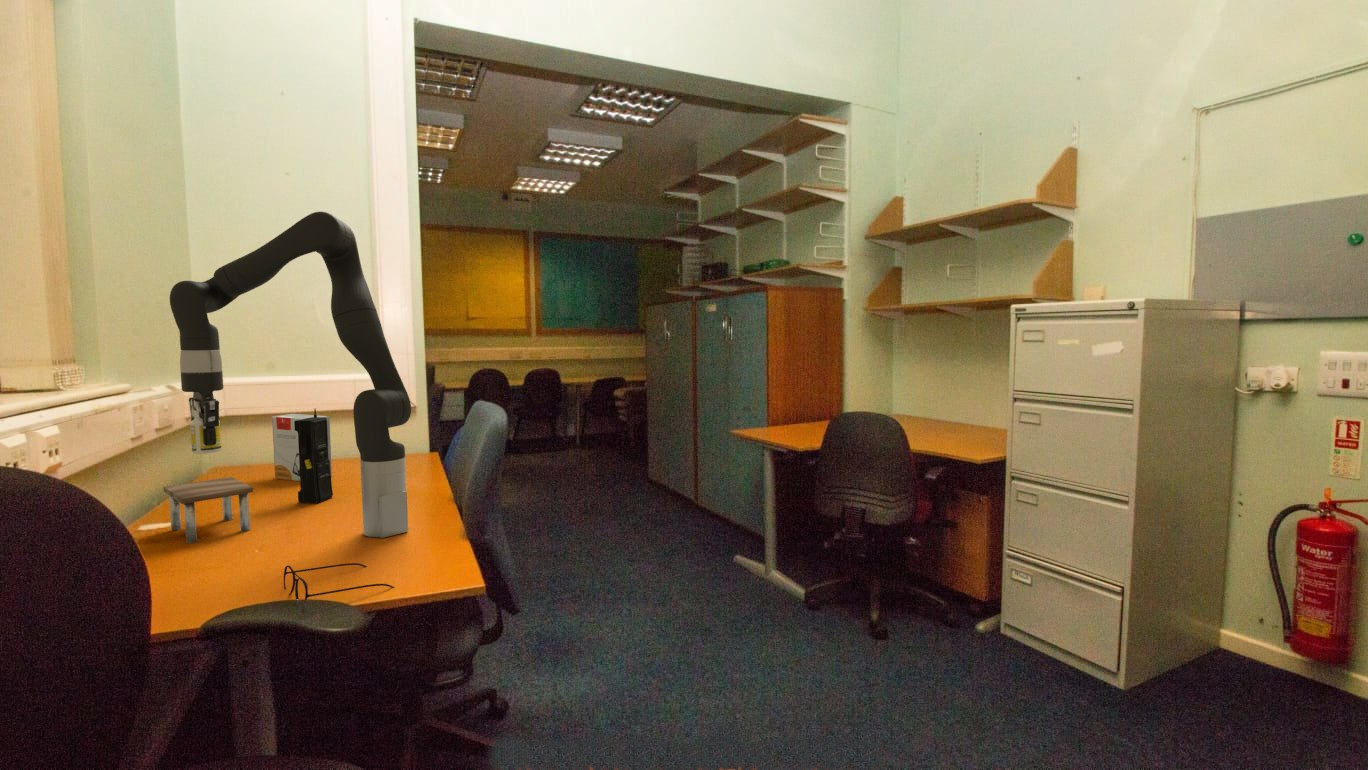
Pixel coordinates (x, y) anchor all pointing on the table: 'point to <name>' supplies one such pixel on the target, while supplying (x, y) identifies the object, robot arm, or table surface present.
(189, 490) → the small wooden stool
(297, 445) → the hard drive box
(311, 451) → the portable radio
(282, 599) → the table surface
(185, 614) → the table surface
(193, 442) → the supplement bottle
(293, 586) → the glasses
